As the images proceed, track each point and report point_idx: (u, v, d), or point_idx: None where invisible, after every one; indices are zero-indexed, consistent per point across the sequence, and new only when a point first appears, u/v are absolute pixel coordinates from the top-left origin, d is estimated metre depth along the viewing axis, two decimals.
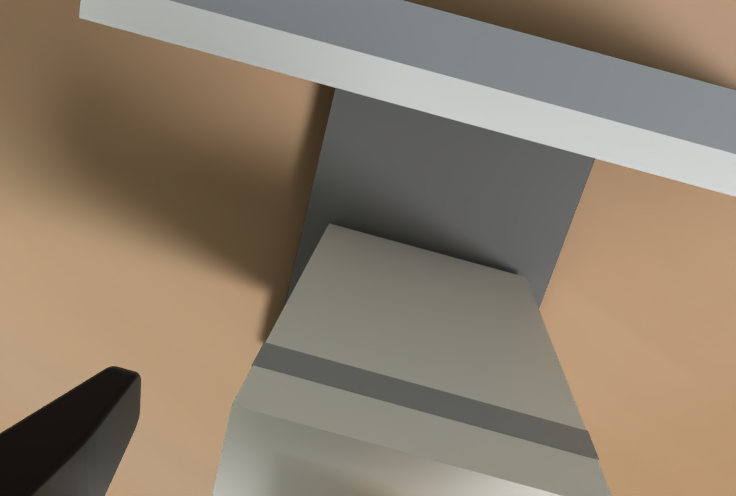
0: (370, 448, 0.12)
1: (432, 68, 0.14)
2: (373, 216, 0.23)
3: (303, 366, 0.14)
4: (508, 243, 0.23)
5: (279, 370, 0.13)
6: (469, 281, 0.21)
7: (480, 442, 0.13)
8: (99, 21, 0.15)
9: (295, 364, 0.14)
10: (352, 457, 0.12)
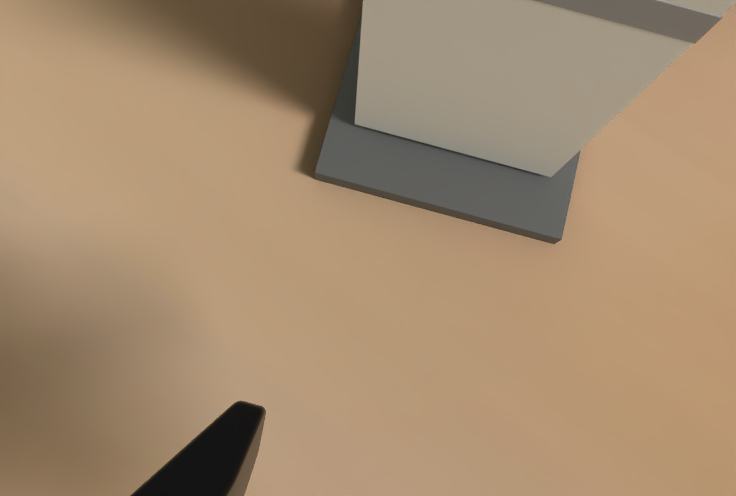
0: None
1: None
2: None
3: None
4: None
5: None
6: None
7: None
8: None
9: None
10: None
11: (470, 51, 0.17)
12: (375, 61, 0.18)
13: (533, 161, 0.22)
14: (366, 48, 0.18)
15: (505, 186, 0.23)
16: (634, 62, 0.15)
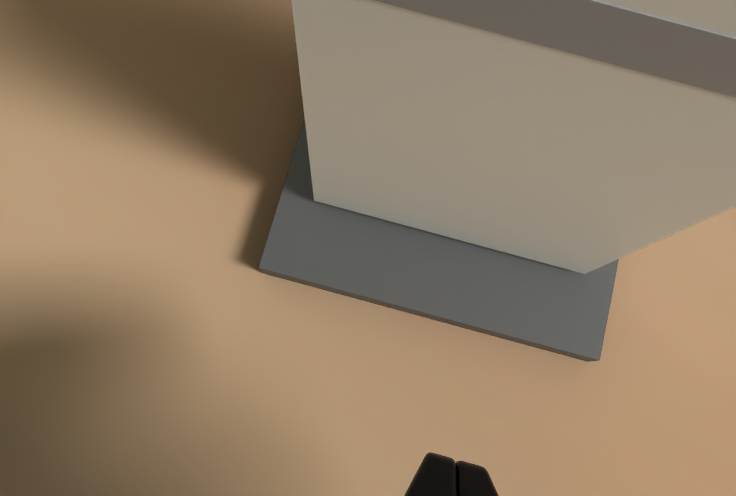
0: None
1: None
2: None
3: None
4: None
5: None
6: None
7: None
8: None
9: None
10: None
11: (476, 127, 0.10)
12: (331, 132, 0.12)
13: (562, 256, 0.16)
14: (314, 116, 0.12)
15: (521, 285, 0.17)
16: None
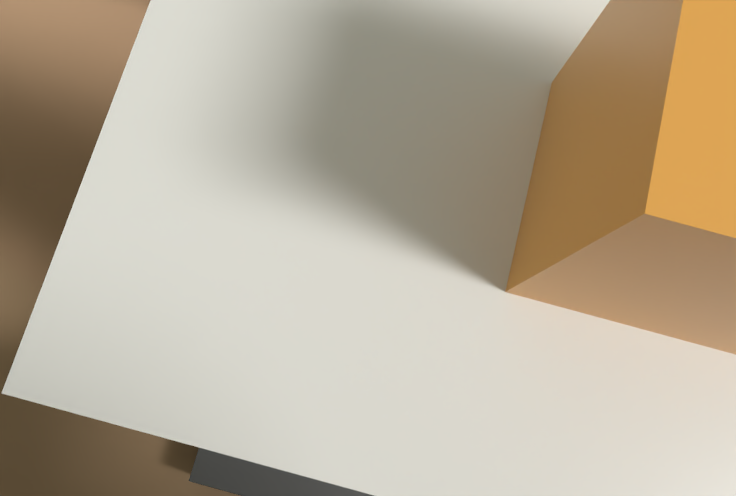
0: None
1: None
2: None
3: None
4: None
5: None
6: None
7: None
8: None
9: None
10: None
11: None
12: None
13: None
14: None
15: None
16: None
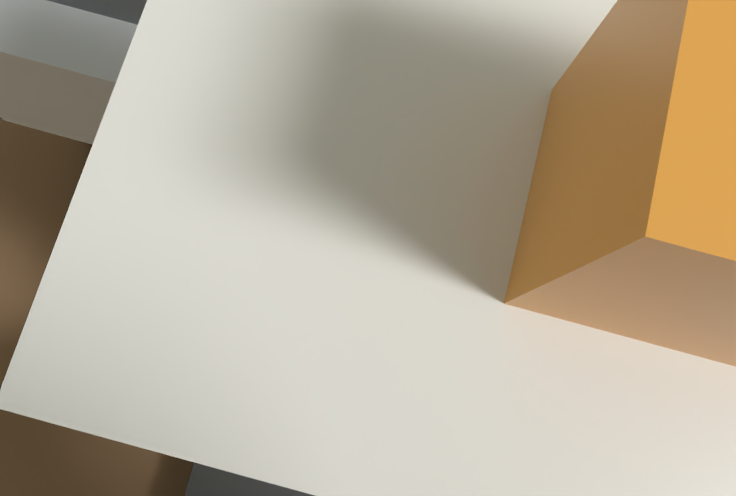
0: None
1: None
2: None
3: None
4: None
5: None
6: None
7: None
8: None
9: None
10: None
11: None
12: None
13: None
14: None
15: None
16: None
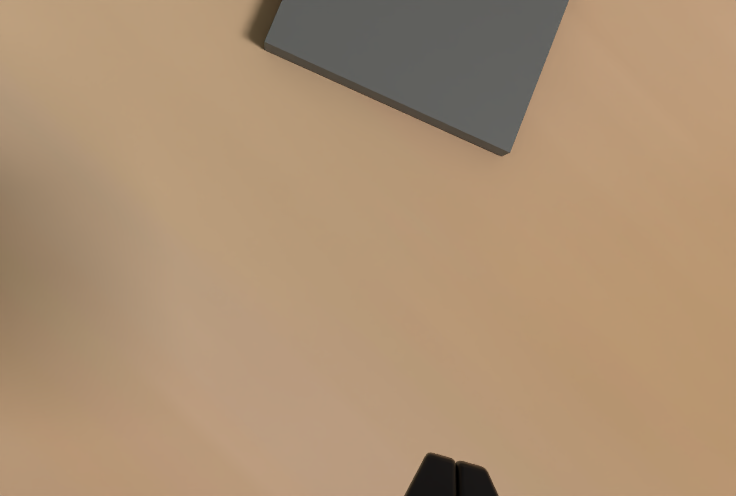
0: None
1: None
2: None
3: None
4: None
5: None
6: None
7: None
8: None
9: None
10: None
11: None
12: None
13: None
14: None
15: (463, 89, 0.22)
16: None
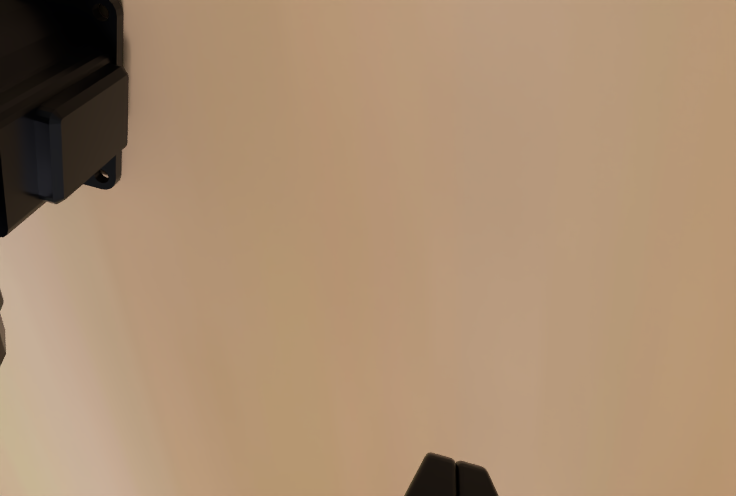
0: None
1: None
2: None
3: None
4: None
5: None
6: None
7: None
8: None
9: None
10: None
11: None
12: None
13: None
14: None
15: None
16: None
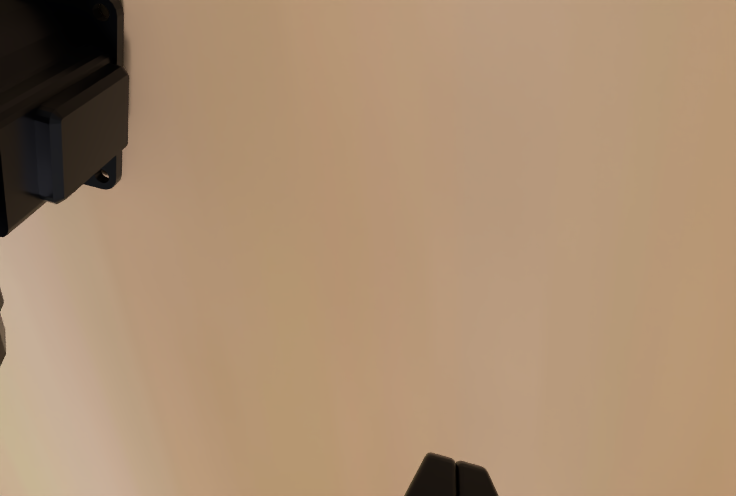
0: None
1: None
2: None
3: None
4: None
5: None
6: None
7: None
8: None
9: None
10: None
11: None
12: None
13: None
14: None
15: None
16: None
